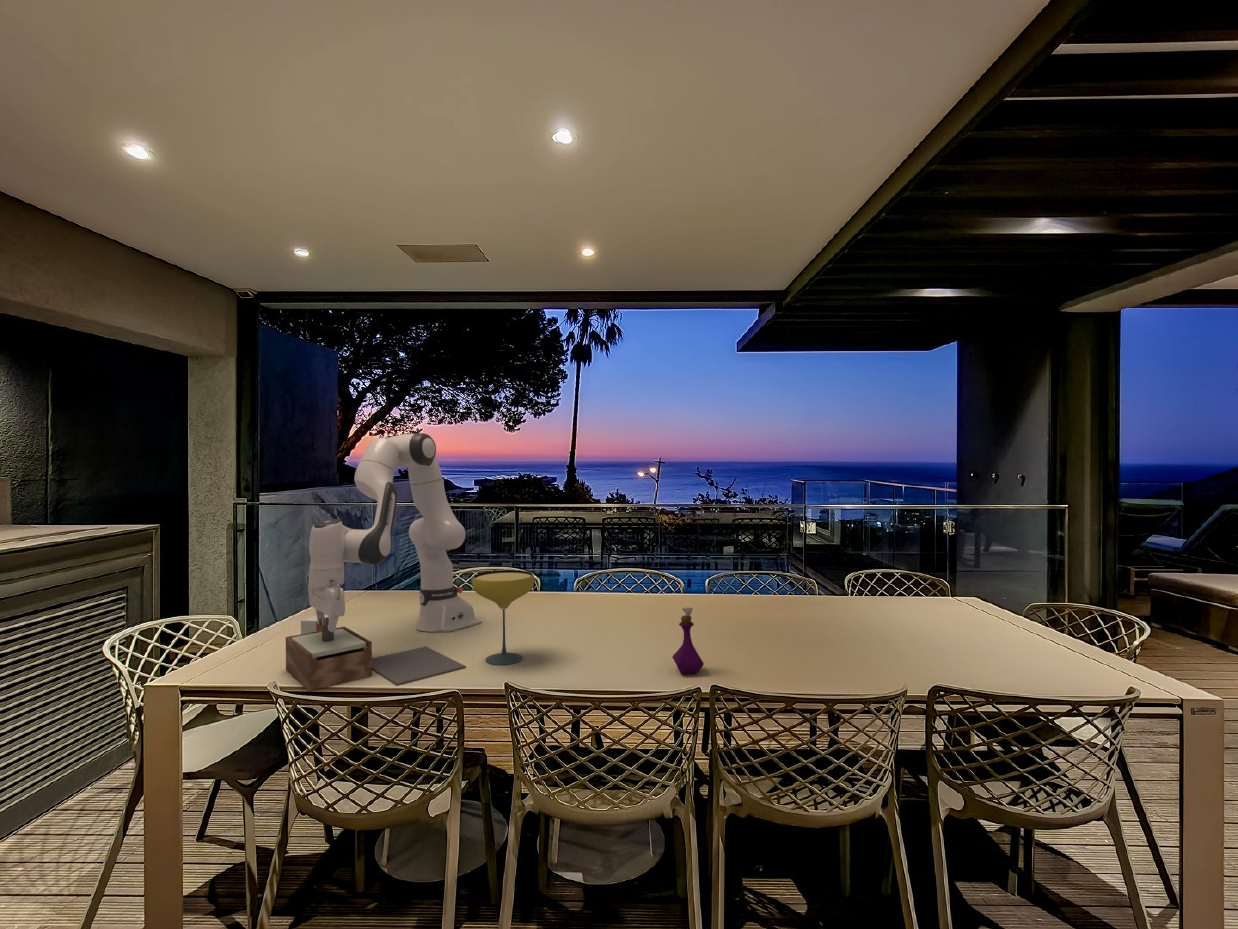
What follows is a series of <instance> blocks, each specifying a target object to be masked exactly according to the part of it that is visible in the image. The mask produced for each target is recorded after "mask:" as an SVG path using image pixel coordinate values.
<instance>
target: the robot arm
mask: <svg viewBox="0 0 1238 929" xmlns="http://www.w3.org/2000/svg"><path fill="white" fill-rule="evenodd" d="M436 454H437V446H436V443H435V440H434V439H433V438H432V437H431V435H429V434H427V433H424V432H423V433H422V432H416V433H403V434H402V433H401V434H397V435H394V436H388V437H381V436H380V437H376V438H374V439H373V440H371V441H370V443H369V444H368V445H367V447H366V449H365V450H364V452H363V453H362V456H361V458H360V460H359V463H358V465H357V467H356V469H355V473H354V478H353V479H354V483H355V486H356V488H357V489H358V490H359V491H360V493H362V494H364V495H365V496H367V497H369V498H370V499H372V500H375V501H376V502H377V507H376V511H375V517H374V521H373V525H372V526H371V527H370V528H368V529H358V528H357V529H356V528H350V527H347V526H345V525H344V524H343V522H342V521H341V519H336V518H330V519H323V520H322V519H321V520H319V521H317V522H315V523H313V525H312V527H311V530H310V535H309V549H308V550H309V551H308V552H309V556H310V562H309V567H308V568H309V569H308V570H309V571H308V573H307V574H306V576H305V581H306V583H308V584H307V590H308V593H307V594H308V602H309V606H310V607H312V608H313V609H315V616H316V615H317V624H319V625H324V624H325V621H326V618H325V615H327V616H329V625H328V631H330V632H333V631H336V628H337V624H338V620H339V617H340V618H341V617H343V616H344V615H345V612H346V602H345V591H344V589H343V588H342V587H341V586H342V585H343V584H344V583H345V563H358V564H368V565H374V566H376V565H380V564H381V563H383V562H384V561H385V560H386V559H387V558H388V557H389V556H390V554H391V551H392V544H393V543H392V535H393V529H394V528H393V527H394V524H395V523H394V521H395V515H396V510H397V503H398V489H397V486H396V485H395V484H394V477H395V474H396V471H397V468H402V469H403V468H407V470H408V480H409V485H410V490H411V495H412V500H413V504H414V507H415V508H416V509H417V510H418V512H420V514H421V515H422V517H421V518H418V519H416V520H414V521H412V523H411V524H410V526H409V529H408V537H409V539H410V540H411V542H412V543H413V545H414V547H415V550H416V553H417V557H418V562H419V567H420V587H419V599H418V600H419V604H420V608H419V615H418V621H417V624H416V630H418V631H422V632H430V633H431V632H432V633H433V632H445V633H448V632H449V633H450V632H453V631H457V630H460V629H463V628H467V627H471V626H475V625H478V624H481V623H482V620H481V618H480V617H478V616H476V615H475V611H474V607H473V605H472V604H471V603H469V602H468V601H466V600H465V599H463V598H462V597H461V596H459V594H462V593H463V591H464V588H463V587H461V586H455V585H454V568H453V567H454V565H453V562H452V561H451V560H450V558H449V557H448V554H447V551H449V550H455V549H458V548H459V547H461V546H462V545H463V543H464V542H465V539H466V530H465V527H464V526H463V525H462V523H461V522H460V521H459V520H458V518H457V517H456V515H455V514H454V512H453V510H452V508H451V506H450V503H449V501H448V498H447V495H446V494H447V493H446V489H445V485H444V480H443V475H442V471H441V466H440V464H439V462H438V459H437V457H436ZM340 585H341V586H340ZM458 593H459V594H458Z"/></svg>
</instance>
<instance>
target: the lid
mask: <svg viewBox="0 0 1238 929" xmlns="http://www.w3.org/2000/svg"><path fill="white" fill-rule="evenodd" d="M328 625H329V624H328ZM328 625H323V626H322V632H319V633H314V634H308V635H303V636H297V637H292V638H291V639H292V640H294V641H295V642H296V643H298V644H299V645H300V646H302V647H303V648H304V649H306V650H307V651H308V652H309V653H311V658H315V657H320V656H325V655H330V654H335V653H340V652H344V651H349V650H354V649H359V648H364V647H366V642H364V641H363V640H361V639H359V638H357V637H356V636H354V635H352V634H351V633H349V632H347V631H345V630H344V629H336V631H333V632H330V631H328Z"/></svg>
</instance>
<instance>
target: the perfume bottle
mask: <svg viewBox="0 0 1238 929" xmlns="http://www.w3.org/2000/svg"><path fill="white" fill-rule="evenodd" d="M682 611H683V612H684V613H685V615H682V616H681V617H680V619H681V621H680V622H679V627H681V628H682V631H683V640H682V641H683V642H682V645H681V646H680V647H679V648H678V650H677V651H676V652H675V653H674V654H673V655H672V659H673V661H674V663H675V665H676V667H677V669H678V670H679V673H680V674H681V675H685V676H687V675H689V676H690V675H697V674H698V673H699V671H701V670H702V667H703V666H704V664H705V663H704V662H703V660H702V658H701V657H700V655H699V653H698V651H697V650H696V648H695V646H694V644H693V641H692V640H693V639H692V638H691V636H692V635H691V628H692V627H693V626H694V625H695V624H694V622H693V621H692V612H693V607H682Z"/></svg>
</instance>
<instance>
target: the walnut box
mask: <svg viewBox="0 0 1238 929" xmlns="http://www.w3.org/2000/svg"><path fill="white" fill-rule="evenodd" d="M336 629H344V630H345V631H347V632H349V633H351V634H352V635H354V636H356V637H357V638H359V639H361V640H363V641H364V642H366V647H364V648H359V649H354V650H349V651H344V652H340V653H335V654H330V655H325V656H320V657H315V658H311V653H309V652H308V651H307V650H306V649H304V648H303V647H302V646H300V645H299V644H298V643H296V642H295V641H294V640H292V639H291V638H292V637H297V636H303V635H308V634H314V633H319V632H322V631H316V632H311V633H305V634H301V633H300V634H295V635H289V636H285V671H286V672H287V673H289V674H290V676H292V678H294V679H295V680H296V681H297V682H298V683H299V684H300V685H302V687H303V688H304V689H306V690H307V691H308V692H311V691H315V690H318V689H319V690H320V689H324V688H327V687H332V686H335V685H339V684H344V683H349V682H353V681H357V680H361V679H365V678H370V677H372V676H373V670H372V658H373V647H372V646H373V645H372V644H373V643H372V641H371V640H369V639H367V638H366V637H363V636H362V635H360V634H358V633H356V632H355V631H354V630H352V629H350V628H349V627H346V626H339V627H336Z"/></svg>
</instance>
